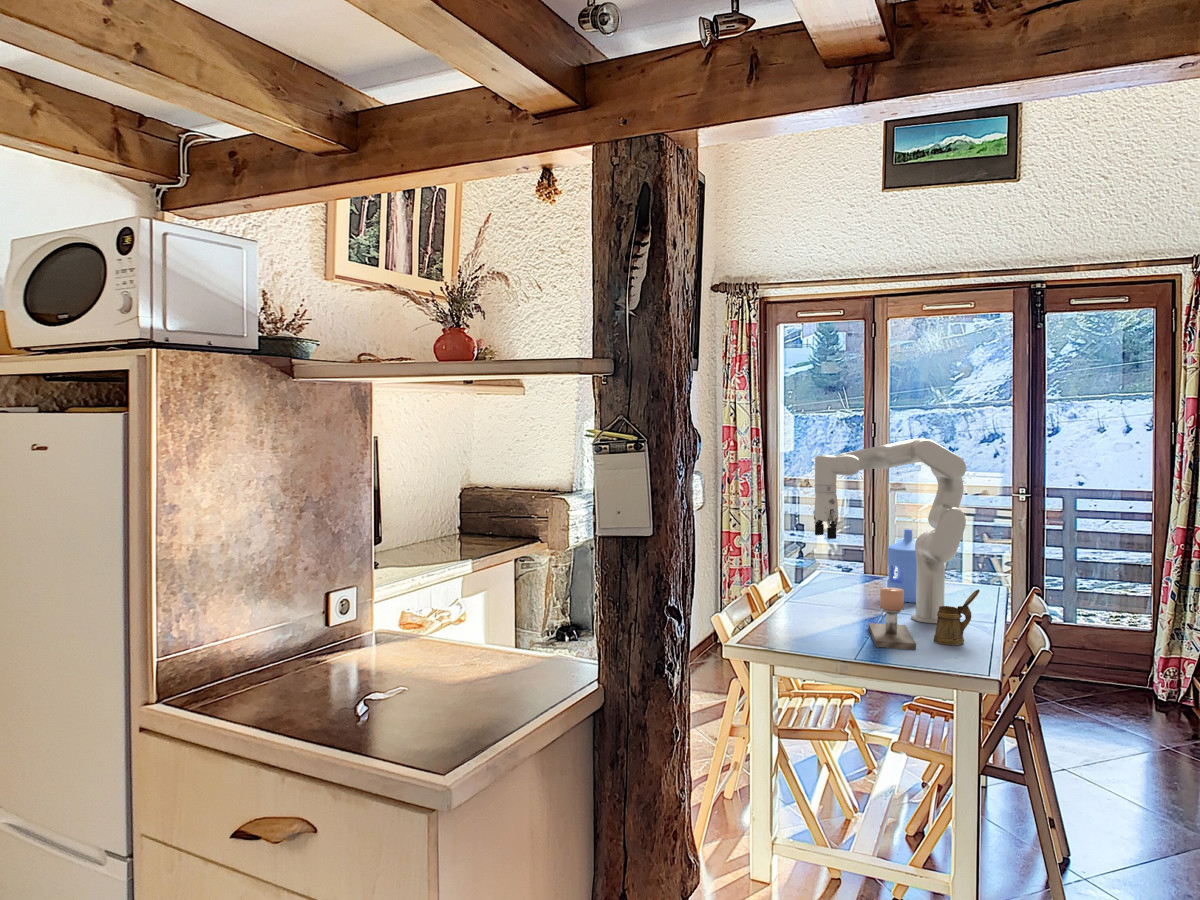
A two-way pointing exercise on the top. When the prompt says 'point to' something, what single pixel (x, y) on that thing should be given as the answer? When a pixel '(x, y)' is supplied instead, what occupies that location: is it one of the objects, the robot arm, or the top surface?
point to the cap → (892, 598)
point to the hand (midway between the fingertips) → (825, 536)
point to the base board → (892, 637)
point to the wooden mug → (953, 622)
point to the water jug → (903, 566)
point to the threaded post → (891, 621)
